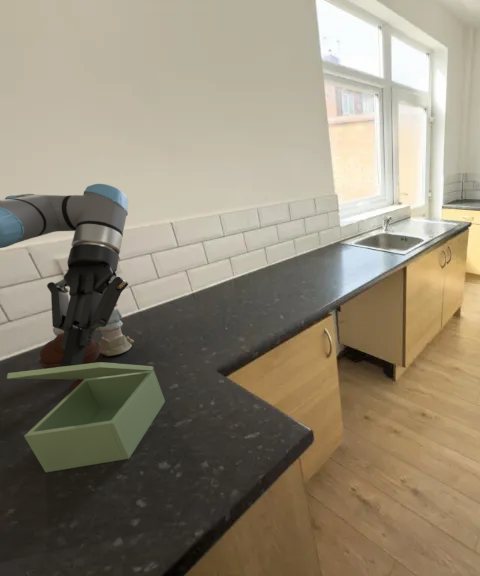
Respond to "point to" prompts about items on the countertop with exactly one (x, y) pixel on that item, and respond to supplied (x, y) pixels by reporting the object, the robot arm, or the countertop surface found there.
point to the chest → (97, 421)
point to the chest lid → (80, 371)
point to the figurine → (113, 336)
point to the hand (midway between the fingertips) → (71, 365)
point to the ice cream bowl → (54, 353)
